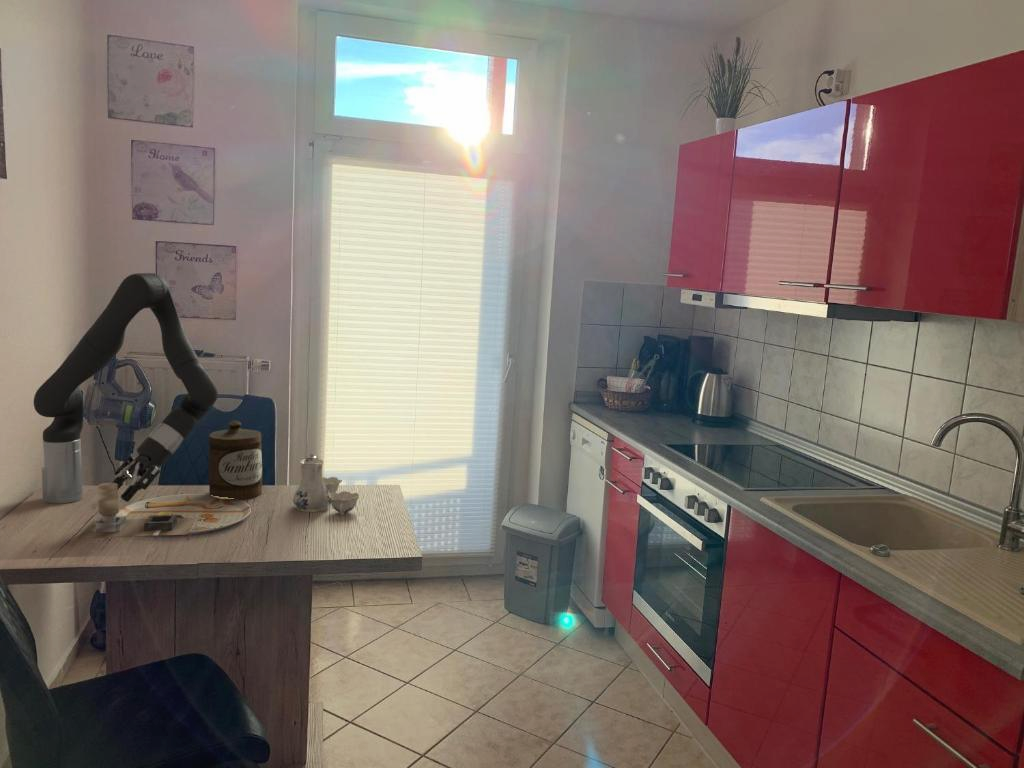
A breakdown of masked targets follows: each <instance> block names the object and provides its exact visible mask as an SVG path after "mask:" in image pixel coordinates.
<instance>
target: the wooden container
mask: <svg viewBox="0 0 1024 768" xmlns="http://www.w3.org/2000/svg"><path fill="white" fill-rule="evenodd" d="M241 426H242V423H241V422H240V421H239V420H231V421H230V422H229V423H228V427H229V429H222V430H217V431H213V432H211V433H209V435H208V445H209V449H208V450H209V455H208V456H209V458H208V461H209V463H208V464H209V465H208V482H209V486H208V487H209V496H210V495H213V496H219V497H228V498H234V499H238V500H248V499H252V498H256V497H258V496H260V495H261V494H262V493H263V459H262V452H263V449H262V432H260V431H259V430H254V429H247V428H241ZM238 500H237V501H238Z"/></svg>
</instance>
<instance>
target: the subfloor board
mask: <svg viewBox="0 0 1024 768" xmlns="http://www.w3.org/2000/svg"><path fill="white" fill-rule="evenodd" d="M197 519H198V517H195V516H194V517H193V516H192V517H178V514H174V513H173V511H160V512H159V513H158V514H157V515H156V514H155V515H152V514H151V515H149V516H148V517H147V518H134V519H133V518H132V519H129V518H128V519H127V516H126V515H125V516H124V515H123V516H119V515H118V516H117V515H116V523H102V516H98V517H97V518H96V519H94V520H92V521H91V523H89V525H88V526H87V527H85V528H84V529H83V530H82V532H81V533H80V534H79V535H78V536H77V537H76V539H96V538H97V539H98V538H99V539H101V538H123V537H124V538H125V537H127V538H128V537H155V536H183V535H184V536H185V535H189V536H188V537H187V538H186V541H189V539H190V538H191V536H192V534H191V531H192V529H193V527H194V525H195V524H196V523H195V522H197Z"/></svg>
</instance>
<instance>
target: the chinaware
mask: <svg viewBox="0 0 1024 768" xmlns="http://www.w3.org/2000/svg"><path fill="white" fill-rule="evenodd" d="M299 462H300V474H301V480H300V483H299V486H298V488H297V489H296V491H295V492H294V494H293V499H292V503H293V504H294V505H295V506H296V510H297V511H299V512H303V513H304V512H306V513H315V512H321V511H325V510H326V509H328V505H329V504H330V505H331V507H332V508H333V510H334V511H336V512H338V513H337V515H339V516H347V515H350V514H351V513H350V512H351V511H352V510H353V509H355V507H356V505H357V502H358V499H359V498H360V493H359V492H354V493H353V492H351V491H347V490H343V491H340V492H338V493H337V491H338V489H339V486H340V484H341V483H342V481H343V480H342V479H339V478H338V477H336V476H330V477H328V478H327V477H324V476H323V464H324V462H325V461H324V460H322V458H321V459H319V458H318V456H316V455H315V453H314V451H311V452H309V456H307V457H306V458H305V459H301V460H300V461H299Z"/></svg>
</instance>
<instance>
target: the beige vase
mask: <svg viewBox="0 0 1024 768" xmlns="http://www.w3.org/2000/svg"><path fill="white" fill-rule="evenodd" d="M97 499H98V500H97V501H98V514H99V515H101V517H102V523H116V516H117V515H116V514H118V513H119V512H120V510H119V509H120V507H119V489H118V484H117V483H112V482H105V483H99V484H98V485H97Z"/></svg>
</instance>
